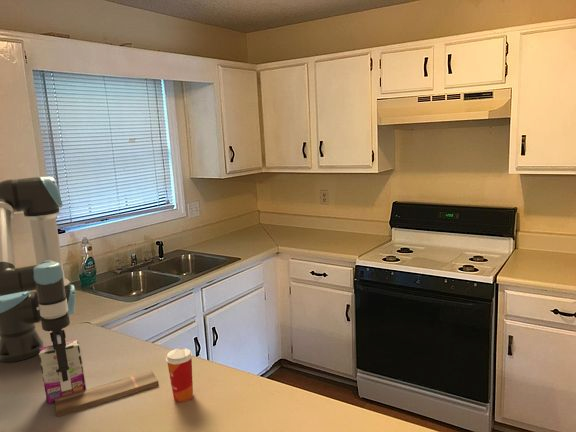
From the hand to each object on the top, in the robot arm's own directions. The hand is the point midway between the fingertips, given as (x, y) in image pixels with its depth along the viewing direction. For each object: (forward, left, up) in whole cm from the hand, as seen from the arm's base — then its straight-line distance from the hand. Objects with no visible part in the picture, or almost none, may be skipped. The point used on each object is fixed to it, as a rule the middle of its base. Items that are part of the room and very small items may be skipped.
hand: (64, 379), depth 144 cm
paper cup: (+22, +30, -5) cm, 38 cm away
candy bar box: (0, 0, -6) cm, 6 cm away
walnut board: (+7, +11, -5) cm, 14 cm away
